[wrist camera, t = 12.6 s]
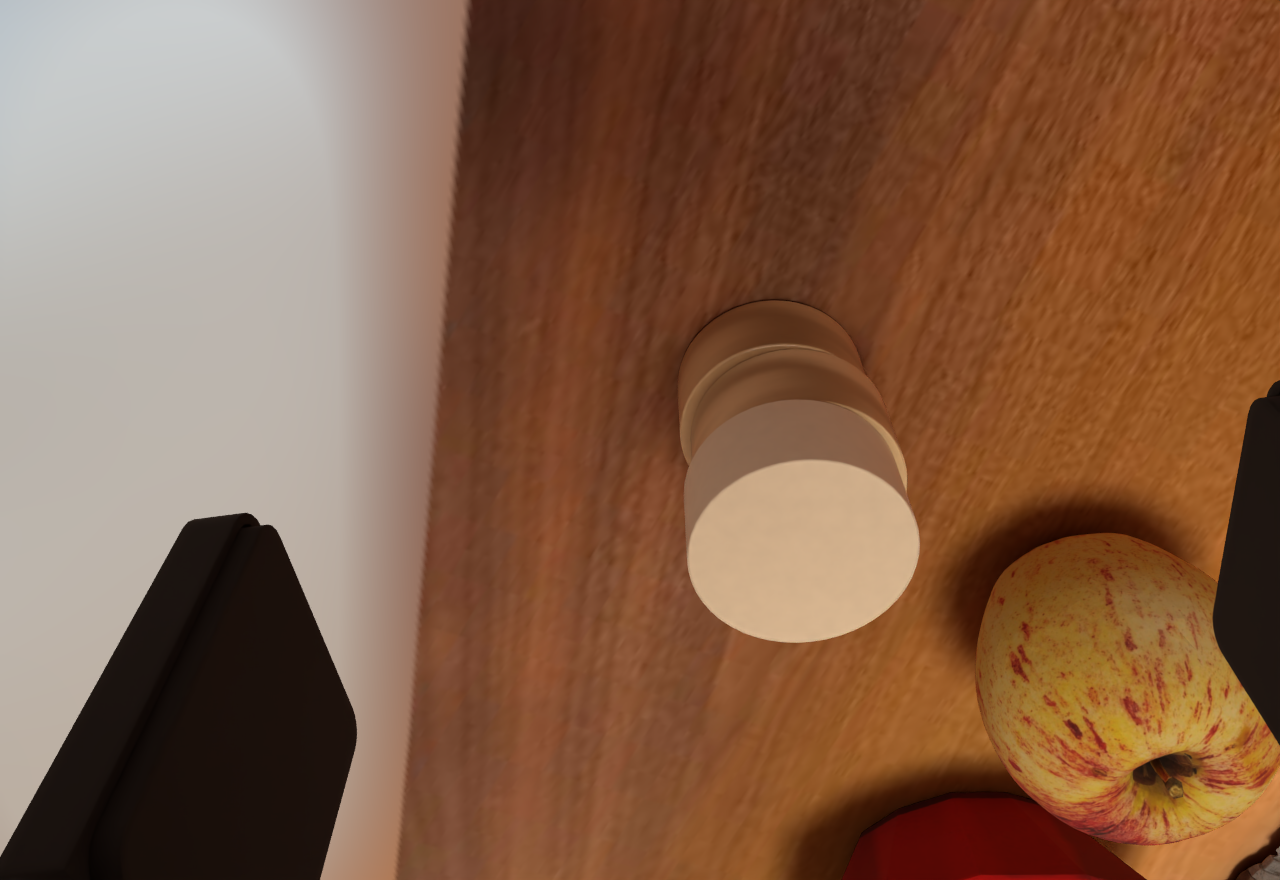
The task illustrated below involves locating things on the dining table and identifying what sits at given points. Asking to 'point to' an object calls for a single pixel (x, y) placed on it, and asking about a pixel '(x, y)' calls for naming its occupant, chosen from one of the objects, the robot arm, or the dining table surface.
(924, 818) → the bottle
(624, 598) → the dining table surface
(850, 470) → the wooden chip
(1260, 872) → the knife
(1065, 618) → the apple
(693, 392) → the chip pile
